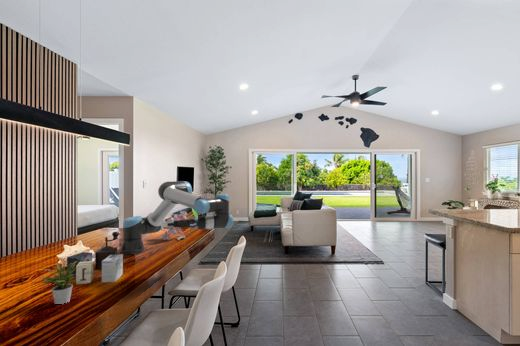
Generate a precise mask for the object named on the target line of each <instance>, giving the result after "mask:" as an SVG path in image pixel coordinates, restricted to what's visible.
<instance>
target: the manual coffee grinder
mask: <svg viewBox="0 0 520 346" xmlns="http://www.w3.org/2000/svg"><path fill="white" fill-rule="evenodd" d="M119 235H120V233H119V232H118V231H113V232H112V233H111V236H112V238H111V239H108V237H107V236H105V238H104V241H105V246H103V247H101V248H97V250H96V251H95V253H94V255H95V257H94V258H95V259H94V261H95V264H94V265H95V267H94V270H102V261H103V260H104V259H106V258H107V257H108V256H109V255H118V247H117V246H113V245H112V246H111V245H108V242H113V241H116V240H119V238H118V237H119Z"/></svg>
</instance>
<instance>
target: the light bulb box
mask: <svg viewBox="0 0 520 346" xmlns="http://www.w3.org/2000/svg"><path fill="white" fill-rule="evenodd" d="M123 256H124V254H121V253H120V254H117V255H109V256H108V257H107V258H106V259H104V260H103V261H102V269H101V283H116V282H117V281H118V280H119V279H120V277H121V276H122V275H123V273H124V272H123V271H124V267H123V261H124V260H123Z"/></svg>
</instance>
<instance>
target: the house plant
mask: <svg viewBox="0 0 520 346" xmlns="http://www.w3.org/2000/svg"><path fill="white" fill-rule="evenodd" d="M76 262H77V261H76ZM76 262H74V263H73V264H72V263H71V264H72V265H71V264H69V265H68V267H69V266H70V265H71V266H70V267H69V269H68V267H67V266H65V265H66V264H65V263H63V265H60V264H58V263H57V262H56V263H55V264H56V266H52V267H53V268H54V269H55V270H56V271H57V272H58V273H57V272H56V271H54V270H52V269H49V268H48V269H47V268H44V270H45V271H48V273H50V274H51V275H53V276H54V277H47V276H42V277H39V279H42V280H45V281H46V282H44V283H43V286H44V285H46V284H50V283H51V284H53V285H54V286H53V287H52V288H51V291H52V296H53V301H54V305H55V304H62V305H65V304H64V303H66V304H68V303H70V300H71V297H72V296H71V295H72V292H73V291H72V290H73V285H74V284H71V283H70V281H72V280H73V279H76V278H75V277H74V278H73V277H71V276H72V275H74V274H71V273H72V272H73V271H74V270H75V269H74V270H73V271H70V270H72V269H73V267H74V266H75V265H74V264H75V263H76ZM73 265H74V266H73ZM76 267H77V266H76ZM76 267H75V268H76ZM71 268H72V269H71ZM67 269H68V272H67ZM67 302H68V303H67Z"/></svg>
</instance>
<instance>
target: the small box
mask: <svg viewBox="0 0 520 346" xmlns="http://www.w3.org/2000/svg"><path fill="white" fill-rule="evenodd" d="M76 261H77V262H76ZM86 261H93V252H86V251H82V252H79V253H75V254H73V255H70V256H67V257H66V268H67V267H68V265H69V264H71V263H72V264H73V263H74V262H76V263H75V264H74V265H75V266H74V265H73V266H74V267H73V269H72V268H71V269H72V270H70V271H73V270H74V269H75V270H74V271H73V272H72V273H71V274H74V275H72V276H71V277H73V279H76V268H75V267H76V265H77V264H78V263H79V262H86ZM72 264H71V265H72ZM71 265H70V266H71ZM70 266H69V267H70ZM69 267H68V269H69ZM68 269H67V271H66V273H67V272H68ZM74 277H75V278H74Z"/></svg>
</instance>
